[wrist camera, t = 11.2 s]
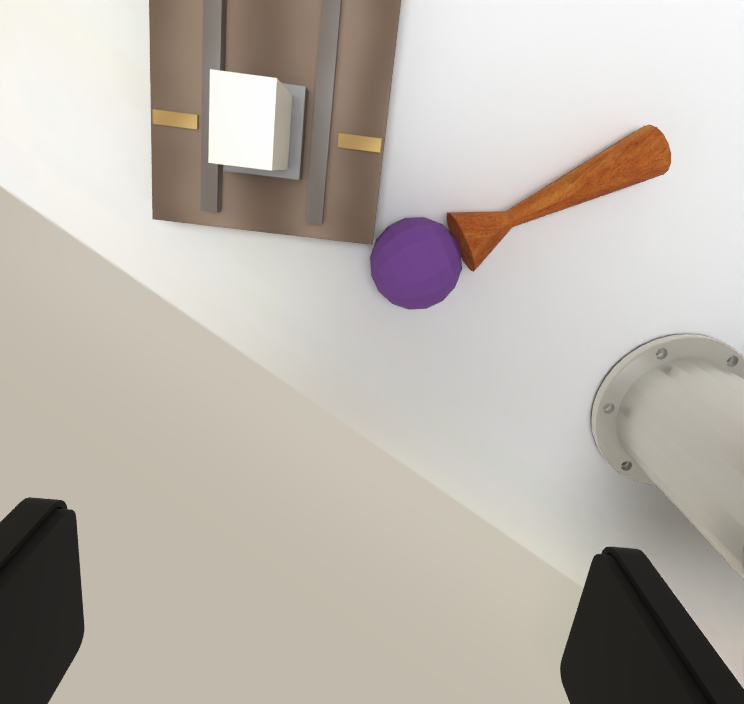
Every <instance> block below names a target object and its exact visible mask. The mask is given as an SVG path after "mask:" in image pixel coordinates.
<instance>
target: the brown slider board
mask: <svg viewBox="0 0 744 704" xmlns="http://www.w3.org/2000/svg"><path fill="white" fill-rule="evenodd" d="M400 5H401V0H149V18H150V82H151V146H152V209H153V219H156V220H165V221H173V222H182V223H191V224H199V225H208V226H216V227H225V228H234V229H242V230H251V231H259V232H268V233H277V234H285V235H294V236H302V237H311V238H320V239H328V240H337V241H345V242H354V243H363V244H371V245H372V244H373V235H374V227H375V218H376V210H377V201H378V193H379V184H380V175H381V167H382V158H383V150H384V141H385V133H386V124H387V116H388V107H389V99H390V90H391V82H392V73H393V64H394V56H395V47H396V39H397V30H398V22H399V13H400ZM210 69H212V70H219V71H227V72H234V73H242V74H249V75H257V76H264V77H272V78H277V79H278V80H279V81H280V82H281V83H284V84H292V85H299V86H306V88H307V89H308V100H307V114H306V128H305V142H304V156H303V170H302V179H301V180H296V179H288V178H279V177H271V176H263V175H255V174H247V173H239V172H230V171H224V165H223V164H215V163H208V158H209V99H210Z"/></svg>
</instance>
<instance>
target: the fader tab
mask: <svg viewBox="0 0 744 704" xmlns="http://www.w3.org/2000/svg"><path fill="white" fill-rule="evenodd" d="M307 100H308V89H307V88H306V86H299V85H292V84H284V83H281V82H280V81H279V80H278V79H277V78H272V77H264V76H257V75H249V74H242V73H234V72H227V71H219V70H212V69H210V99H209V158H208V163H215V164H223V165H224V171H230V172H239V173H247V174H255V175H263V176H271V177H279V178H288V179H296V180H301V179H302V170H303V156H304V142H305V128H306V114H307Z"/></svg>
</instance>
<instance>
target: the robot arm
mask: <svg viewBox="0 0 744 704" xmlns="http://www.w3.org/2000/svg"><path fill="white" fill-rule="evenodd" d="M657 350H658V351H657ZM591 422H592V433H593V436H594V439H595V442H596V445H597V447H598V449H599V450H600V452H601V454H602V455H603V457H604V458H605V459H606V460H607V461H608V462H609V463H610V465H611V466H612V467H613V468H614V469H616V470H617V471H618V472H619V473H621V474H622V475H624V476H626V477H628V478H630V479H632V480H635V481H638V482H642V483H646V484H654V485H657V486H658V487H659V488H660V490H661V491H662V492H663V493H664V494H665V495H666V496H667V497H668V498H669V499H670V500H671V501H672V503H673V504H674V505H675V506H676V507H677V508H678V509H679V510H680V511H681V512H682V513H683V514H684V515H685V517H686V518H687V519H688V520H689V521H690V522H691V523H692V524H693V525H694V526H695V527H696V528H697V529H698V531H699V532H700V533H701V534H702V535H703V536H704V537H705V538H706V539H707V540H708V541H709V542H710V544H711V545H712V546H713V547H714V548H715V549H716V550H717V551H718V552H719V553H720V554H721V555H722V556H723V558H724V559H725V560H726V561H727V562H728V563H729V564H730V565H731V566H732V567H733V568H734V569H735V571H736V572H737V573H738V574H739V575H740V576H741V577H742V578H743V579H744V356H743V355H742V354H740V353H739V352H738V351H736V350H735V349H734V348H732V347H731V346H729V345H727V344H725V343H723V342H721V341H719V340H716V339H713V338H710V337H707V336H703V335H694V334H681V335H671V336H667V337H663V338H659V339H656V340H654V341H651V342H649V343H647V344H645V345H642V346H640V347H639V348H637V349H636V350H634V351H633V352H631V353H630V354H628V355H627V356H626V357H624V358H623V359H622V360H621V361H620V362H619V363H618V364H617V365H616V366H615V367H614V368H613V369H612V370H611V372H610V373H609V374H608V375H607V377H606V378H605V379H604V381H603V383H602V385H601V387H600V389H599V390H598V392H597V395H596V398H595V401H594V404H593V410H592V418H591ZM76 523H77V522H76V514H75V512H74V511H73V510H68V509H67V505H66V503H65V502H64V501H62V500H54V499H42V498H30V497H29V498H25V499H24V500H23V501H22V502H20V503H19V504H18V505H17V506H16V507H15V509H13V510H12V511H11V512H10V513H9V514H8V515H7V516H6V517H5V518H4V519H3V520H2V521H1V522H0V704H48V702H49V700H50V699H51V697H52V695H53V694H54V692H55V690H56V688H57V687H58V685H59V683H60V682H61V680H62V678H63V676H64V675H65V673H66V671H67V669H68V668H69V666H70V664H71V663H72V661H73V659H74V657H75V656H76V654H77V652H78V650H79V648H80V645H81V643H82V639H83V635H84V617H83V603H82V590H81V576H80V562H79V549H78V535H77V524H76ZM560 667H561V668H560V672H561V679H562V683H563V686H564V689H565V691H566V694H567V697H568V699H569V702H570V704H744V689H743V688H742V686H741V685H740V684H739V682H738V681H737V679H736V678H735V677H734V675H733V674H732V673H731V671H730V670H729V669H728V667H727V666H726V664H725V663H724V662H723V660H722V659H721V658H720V656H719V655H718V654H717V652H716V651H715V649H714V648H713V647H712V645H711V644H710V643H709V641H708V640H707V638H706V637H705V636H704V634H703V633H702V632H701V630H700V629H699V628H698V626H697V625H696V623H695V622H694V621H693V619H692V618H691V617H690V615H689V614H688V613H687V611H686V610H685V608H684V607H683V606H682V604H681V603H680V602H679V600H678V599H677V598H676V596H675V595H674V593H673V592H672V591H671V589H670V588H669V587H668V585H667V584H666V583H665V581H664V580H663V578H662V577H661V576H660V574H659V573H658V572H657V570H656V569H655V567H654V566H653V565H652V563H651V562H650V561H649V559H648V558H647V557H646V555H645V554H644V553H643V552H642V551H641V550H638V549H631V548H620V547H606V548H605V549H604V550H603V551H602V553H601V554H596V555H595V556H594V558H593V560H592V563H591V566H590V569H589V573H588V576H587V579H586V582H585V586H584V589H583V592H582V595H581V599H580V602H579V605H578V608H577V612H576V615H575V618H574V621H573V624H572V628H571V631H570V634H569V638H568V641H567V644H566V648H565V650H564V654H563V657H562V660H561V666H560Z"/></svg>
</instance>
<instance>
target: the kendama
mask: <svg viewBox="0 0 744 704" xmlns="http://www.w3.org/2000/svg"><path fill="white" fill-rule="evenodd" d="M670 164H671V152H670V148H669V144H668V142H667V140H666V138H665V136H664V134H663V133H662V132H661V131H660V130H659V129H658V128H657V127H654V126H652V125H647V126H644V127H642V128H640V129H639V130H637V131H636V132H634V133H632V134H631V135H629V136H627V137H626V138H624V139H623V140H621V141H619V142H618V143H616V144H614V145H613V146H611V147H610V148H608V149H606V150H605V151H603V152H602V153H600V154H598V155H597V156H595V157H593V158H592V159H590V160H589V161H587V162H585V163H584V164H582V165H580V166H579V167H577V168H576V169H574V170H572V171H571V172H569V173H568V174H566V175H564V176H563V177H561V178H559V179H558V180H556V181H555V182H553V183H551V184H550V185H548V186H546V187H545V188H543V189H542V190H540V191H538V192H537V193H535V194H534V195H532V196H530V197H529V198H527V199H525V200H524V201H522V202H521V203H519V204H517V205H516V206H514V207H512V208H511V209H509V210H508V211H506V212H459V213H447V222H448V226H449V229H450V232H449V231H448V230H447V229H446V228H445V227H444V226H443V225H442V224H440V223H437V222H435V221H432V220H429V219H427V218H423V217H421V218H404V219H402V220H400V221H398V222H396V223H394V224H392V225H390V226H388V227H387V228H386V230H385V231H384V232H383V233H382V234H381V235H380V236H379V237H378V239H377V240H376V242H375V245H374V248H373V251H372V254H371V256H370V261H371V276H372V278H373V280H374V282H375V285H376V287H377V289H378V291H379V292H380V293H381V294H382V295H383V296H384V297H386V298H387V299H388V300H389V301H390V302H391V303H392V304H395V305H398V306H401V307H403V308H406V309H426V308H428V307H431V306H433V305H435V304H437V303H439V302H441V301H443V300H444V299H445V298H446V296H447V295H448V294H449V293H450V292H451V291H452V290H453V289H454V288H455V286H456V283H457V280H458V278H459V275H460V272H461V270H462V263H461V257H462V259H463V261H464V262H465V264H466V265H467V266H468V268H469V269H470V270H471V271H473V272H474V271H475V270H476V269H477V267H478V266H479V265H480V264H481V263H482V262H483V260H484V259H485V258H486V257H487V256H488V255H489V253H490V252H491V251H492V250H493V249H494V248H495V247H496V245H497V244H498V243H499V242H500V241H501V240H502V238H503V237H504V236H505V235H506V234H507V233H508V231H509V230H510V229H511V228H512V227H514V226H517V225H520V224H522V223H525V222H528V221H531V220H534V219H537V218H540V217H543V216H545V215H548V214H551V213H554V212H557V211H560V210H563V209H565V208H568V207H571V206H574V205H577V204H580V203H583V202H586V201H588V200H591V199H594V198H597V197H600V196H603V195H606V194H609V193H611V192H614V191H617V190H620V189H623V188H626V187H629V186H631V185H634V184H637V183H640V182H643V181H646V180H649V179H652V178H654V177H657V176H660V175H663V174H664V173H666V172H667V171H668V170H669V167H670Z"/></svg>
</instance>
